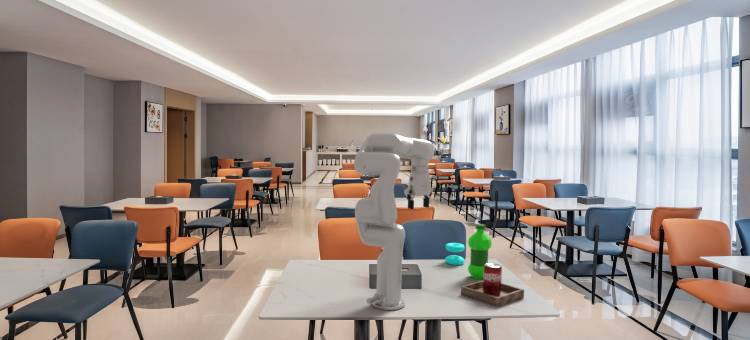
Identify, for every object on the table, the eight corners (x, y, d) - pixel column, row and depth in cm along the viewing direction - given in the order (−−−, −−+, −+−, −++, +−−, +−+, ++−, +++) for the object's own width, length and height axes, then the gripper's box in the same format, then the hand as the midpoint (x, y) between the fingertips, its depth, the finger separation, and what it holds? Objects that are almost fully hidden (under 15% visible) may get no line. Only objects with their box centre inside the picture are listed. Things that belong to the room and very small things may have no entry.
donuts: (446, 241, 245) (465, 243, 243) (445, 260, 246) (464, 261, 243) (444, 245, 235) (464, 247, 233) (444, 264, 236) (463, 266, 234)
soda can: (501, 297, 184) (502, 268, 183) (482, 296, 185) (483, 266, 185) (500, 291, 191) (501, 263, 190) (482, 290, 192) (483, 262, 192)
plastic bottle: (492, 276, 216) (494, 224, 215) (484, 282, 207) (486, 227, 206) (472, 273, 222) (474, 222, 220) (464, 278, 213) (465, 225, 211)
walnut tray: (497, 307, 176) (497, 298, 175) (460, 294, 189) (461, 286, 189) (523, 298, 187) (524, 289, 187) (487, 286, 201) (487, 278, 201)
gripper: (411, 170, 195) (410, 210, 196) (439, 170, 206) (437, 207, 207) (399, 169, 201) (398, 208, 202) (427, 169, 212) (425, 205, 213)
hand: (418, 208), depth 205 cm, fingers open, 9 cm apart
